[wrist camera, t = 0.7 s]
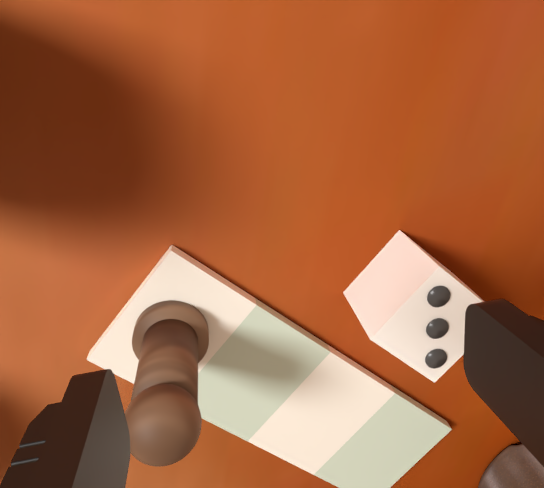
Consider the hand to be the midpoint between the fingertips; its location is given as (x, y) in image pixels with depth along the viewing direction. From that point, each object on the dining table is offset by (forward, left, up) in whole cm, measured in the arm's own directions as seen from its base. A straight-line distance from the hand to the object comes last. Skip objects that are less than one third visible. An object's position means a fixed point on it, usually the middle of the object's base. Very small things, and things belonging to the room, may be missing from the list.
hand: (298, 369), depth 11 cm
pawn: (+12, +3, -20) cm, 23 cm away
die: (0, +15, -21) cm, 26 cm away
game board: (+12, +14, -21) cm, 28 cm away
